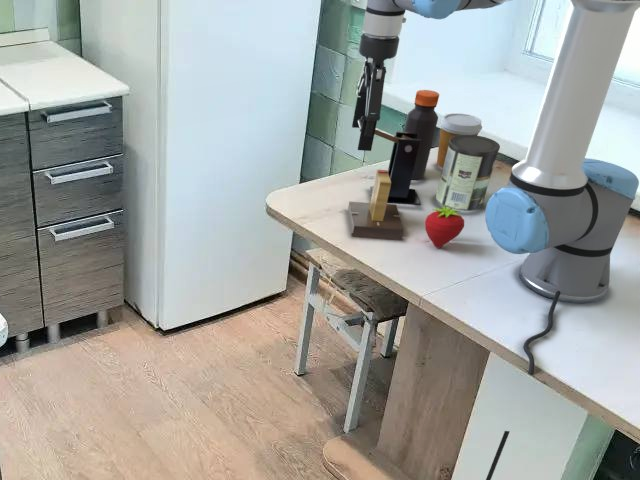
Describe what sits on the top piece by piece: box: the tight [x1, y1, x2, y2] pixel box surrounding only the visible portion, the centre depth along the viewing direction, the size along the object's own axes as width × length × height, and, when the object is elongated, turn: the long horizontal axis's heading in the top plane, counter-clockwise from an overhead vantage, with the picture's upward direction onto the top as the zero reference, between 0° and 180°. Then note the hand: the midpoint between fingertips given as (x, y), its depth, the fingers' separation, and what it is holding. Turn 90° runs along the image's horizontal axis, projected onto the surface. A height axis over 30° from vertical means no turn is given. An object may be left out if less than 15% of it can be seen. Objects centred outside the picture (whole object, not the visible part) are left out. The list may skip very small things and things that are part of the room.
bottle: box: [403, 89, 440, 182], centre depth 184 cm, size 7×7×20 cm
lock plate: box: [347, 201, 405, 241], centre depth 169 cm, size 12×10×3 cm
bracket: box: [369, 130, 421, 206], centre depth 176 cm, size 10×8×15 cm
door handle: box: [358, 119, 410, 143], centre depth 172 cm, size 13×6×2 cm, turn 83°
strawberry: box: [424, 204, 465, 249], centre depth 159 cm, size 6×8×10 cm
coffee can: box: [435, 135, 501, 211], centre depth 175 cm, size 10×10×14 cm
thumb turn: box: [369, 169, 391, 221], centre depth 166 cm, size 6×2×9 cm, turn 173°
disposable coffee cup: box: [436, 112, 483, 169], centre depth 192 cm, size 10×10×12 cm
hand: (361, 138), depth 173 cm, fingers open, 13 cm apart
